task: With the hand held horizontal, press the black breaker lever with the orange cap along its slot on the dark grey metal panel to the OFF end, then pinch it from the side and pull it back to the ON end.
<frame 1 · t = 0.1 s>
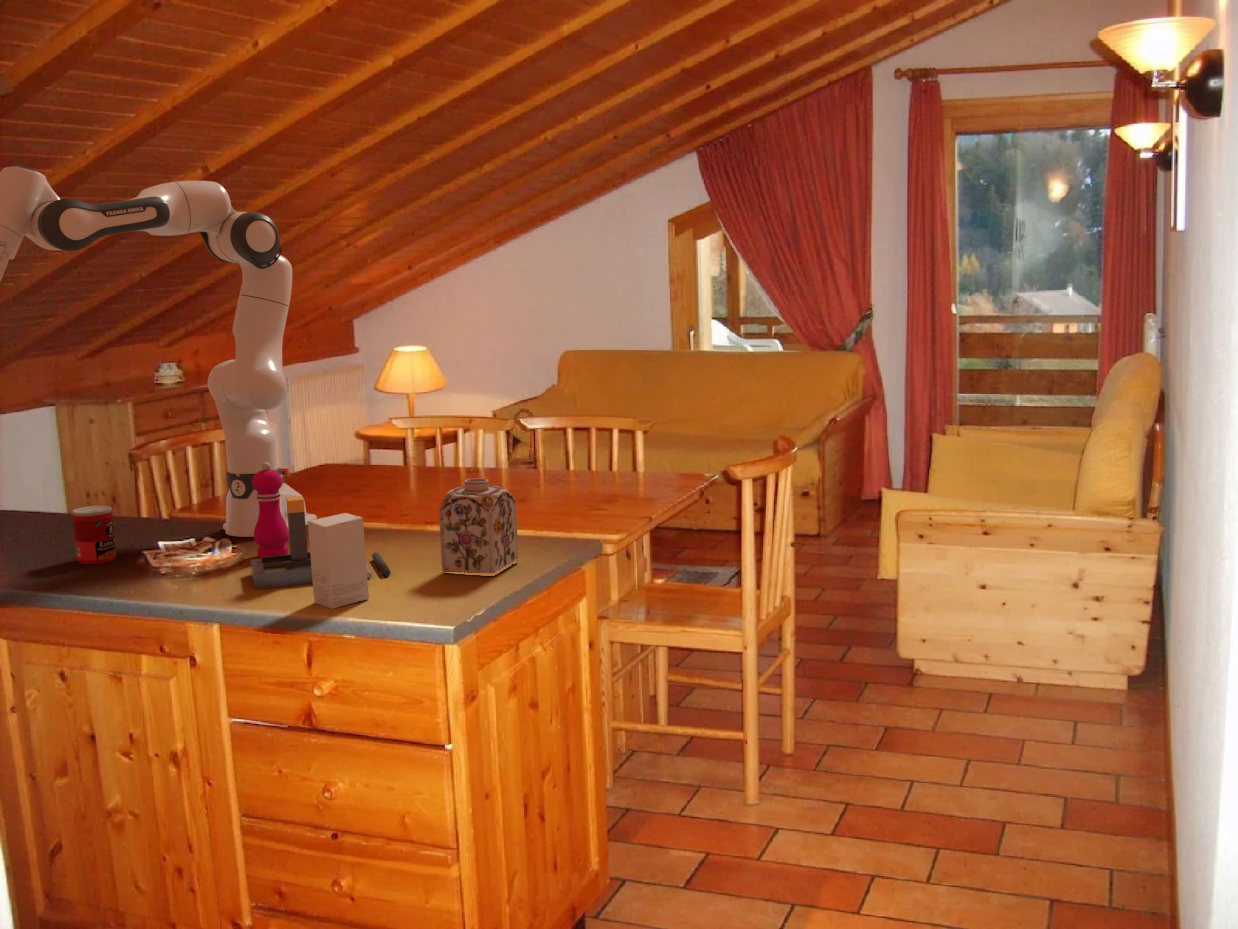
canned food: (97, 561, 266), on the counter
lever: (297, 529, 246), point 9 cm above the counter, slide at 0.0 cm
pepper mill: (273, 556, 266), on the counter
skincare box: (341, 603, 230), on the counter
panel: (300, 576, 248), on the counter
dark grey capsule: (372, 568, 252), on the counter
decorative jar: (481, 569, 250), on the counter
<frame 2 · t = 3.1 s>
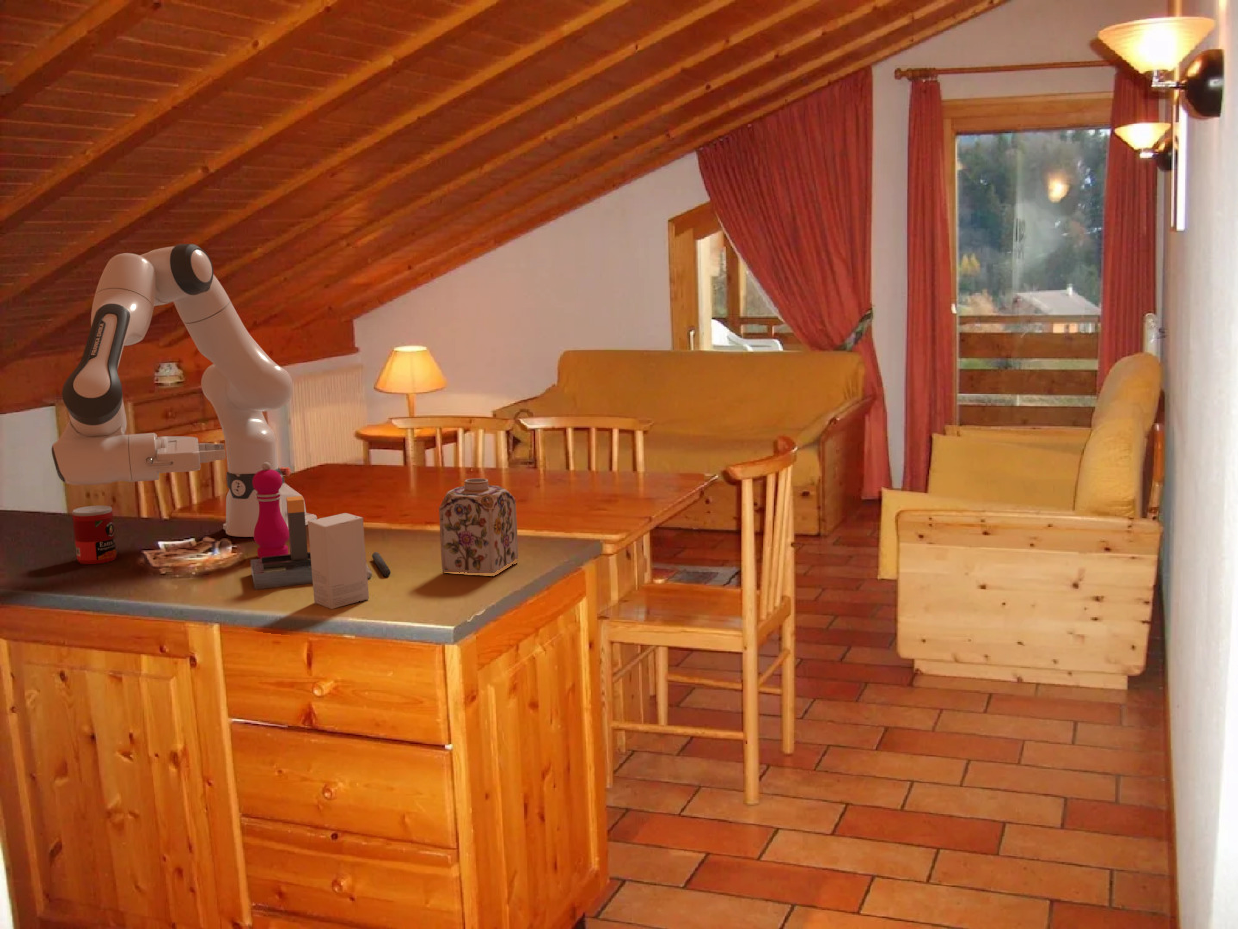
hand: (224, 451, 239), 26 cm above the counter, tool horizontal, fingers open, 6 cm apart
nothing on the counter moved.
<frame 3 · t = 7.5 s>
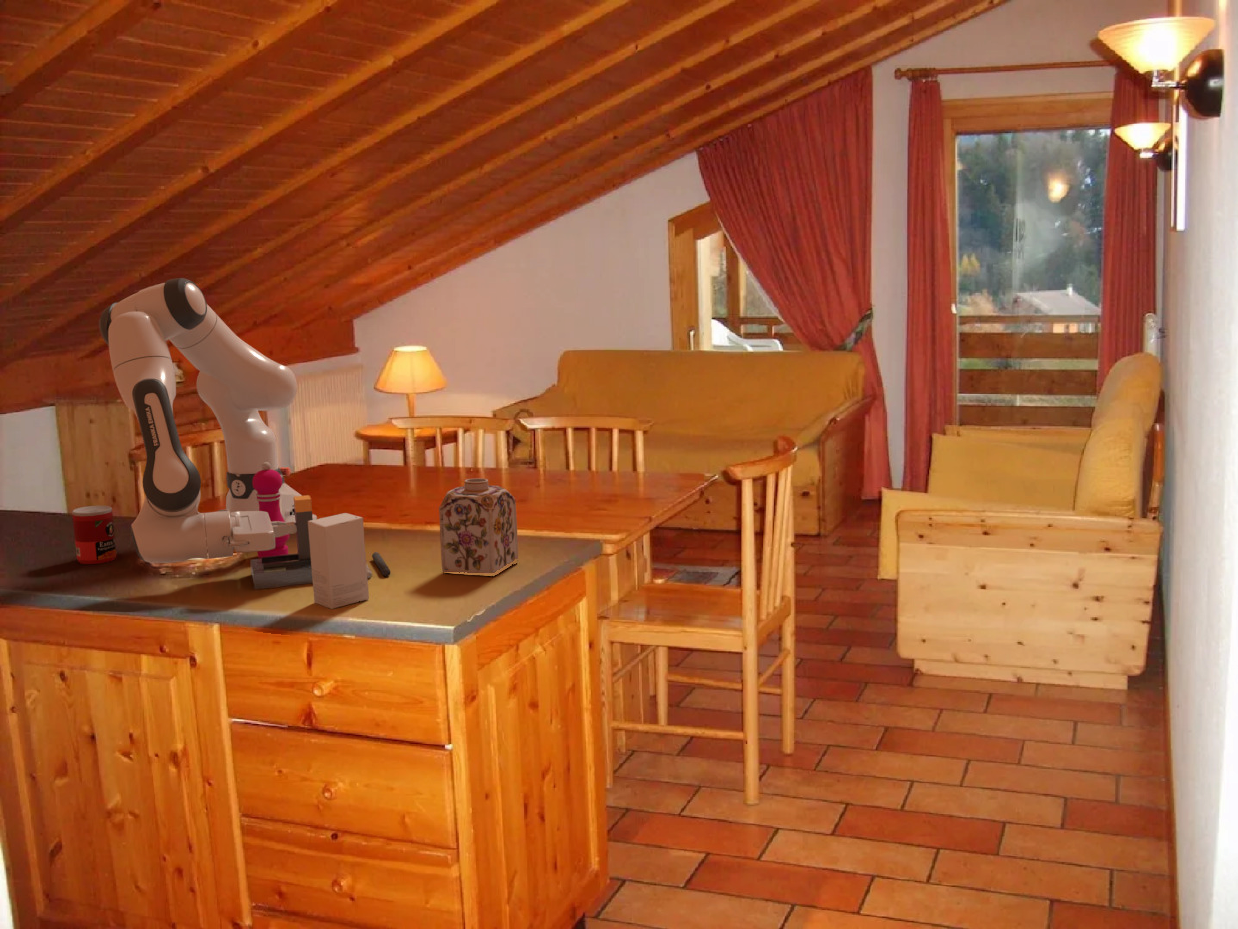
hand: (296, 527, 246), 10 cm above the counter, tool horizontal, fingers closed, pressing on lever
lever: (304, 528, 247), point 9 cm above the counter, slide at 1.4 cm, touching gripper
everything else where it was.
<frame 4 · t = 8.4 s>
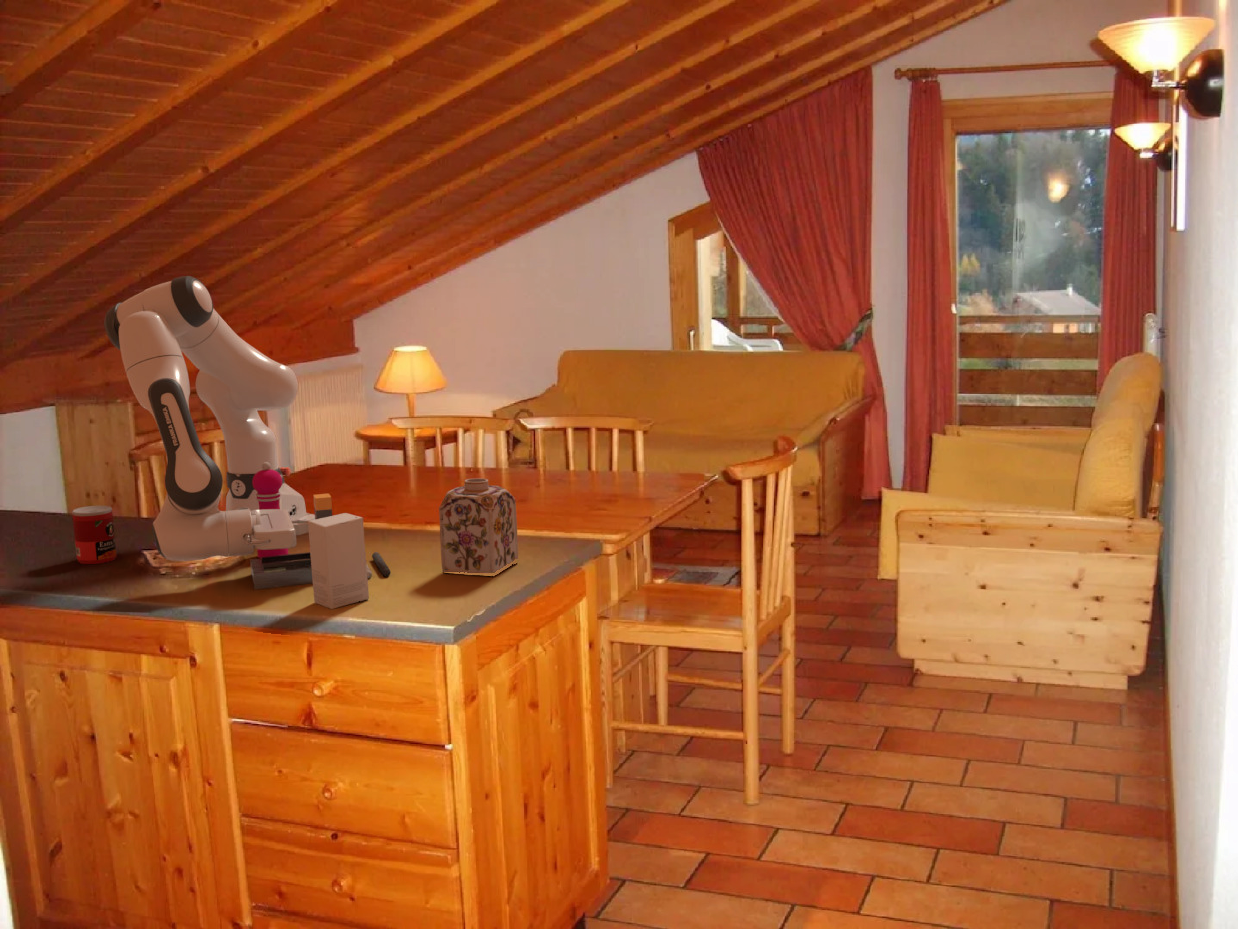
hand: (316, 525, 247), 10 cm above the counter, tool horizontal, fingers closed, pressing on lever
lever: (324, 526, 248), point 10 cm above the counter, slide at 5.2 cm, touching gripper
everything else where it was.
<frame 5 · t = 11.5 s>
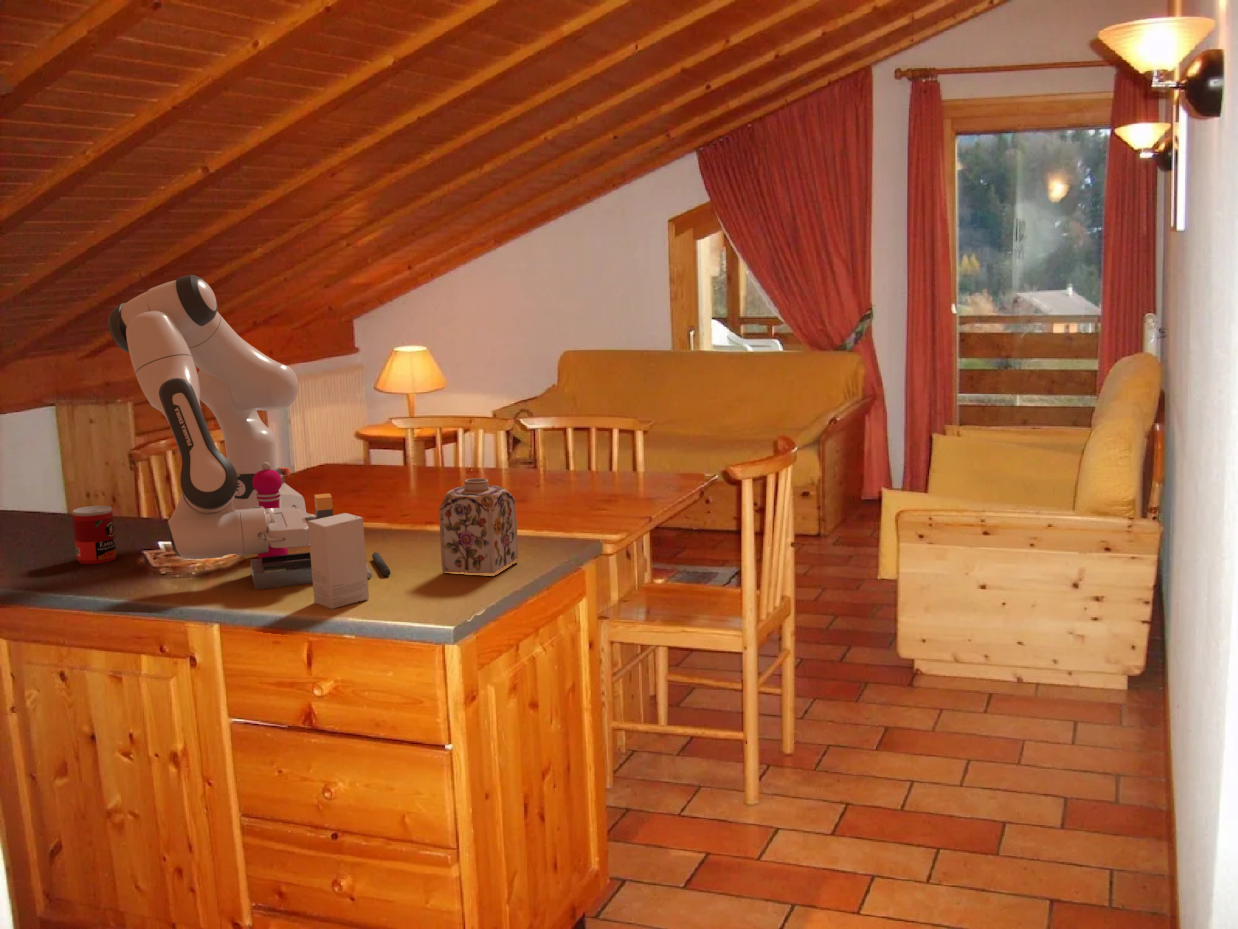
hand: (330, 523, 248), 10 cm above the counter, tool horizontal, fingers closed on lever, 4 cm apart
lever: (325, 526, 248), point 9 cm above the counter, slide at 5.4 cm, touching gripper
everything else where it was.
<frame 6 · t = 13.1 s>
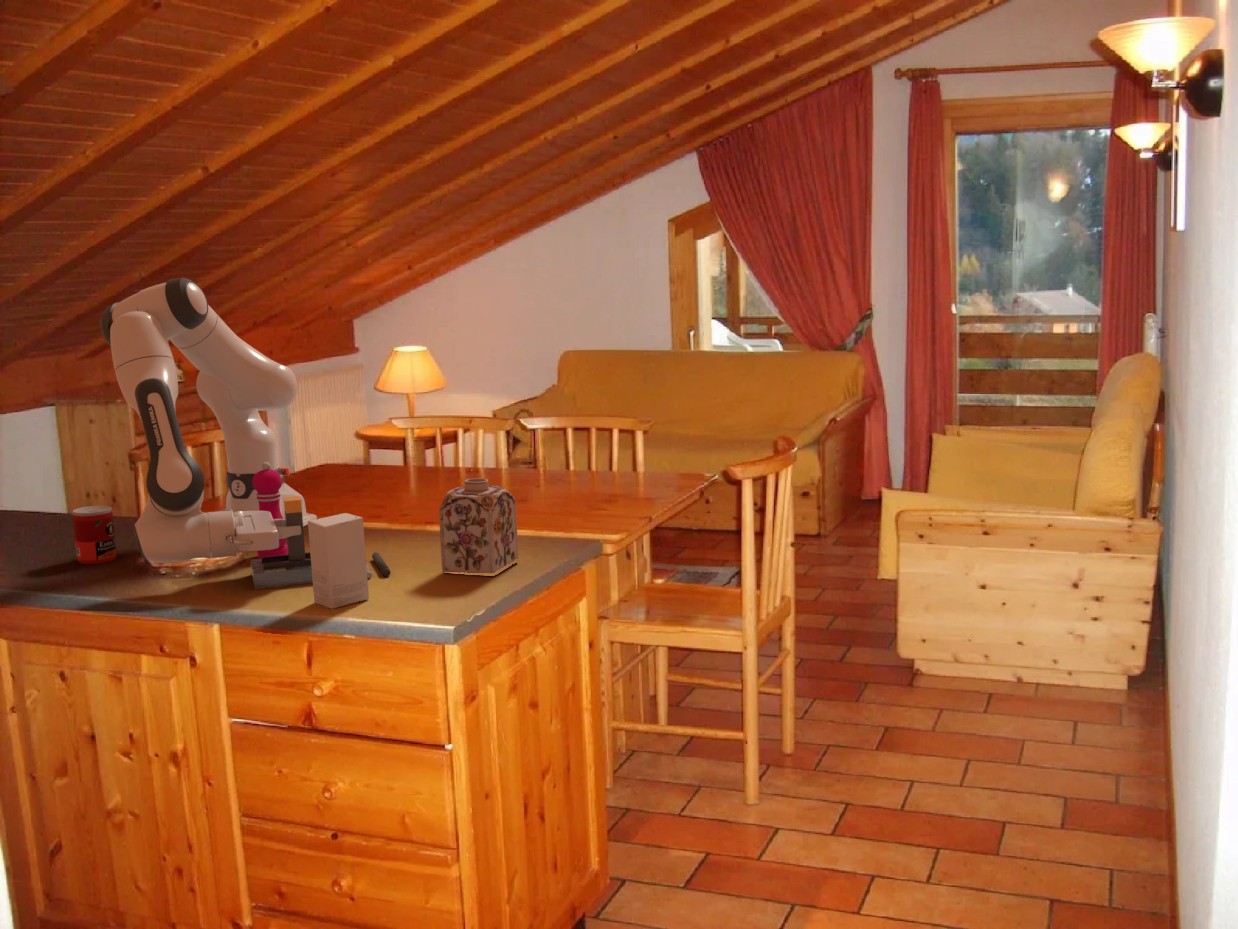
hand: (299, 526, 246), 10 cm above the counter, tool horizontal, fingers closed on lever, 4 cm apart
lever: (294, 529, 246), point 9 cm above the counter, slide at -0.5 cm, touching gripper
everything else where it was.
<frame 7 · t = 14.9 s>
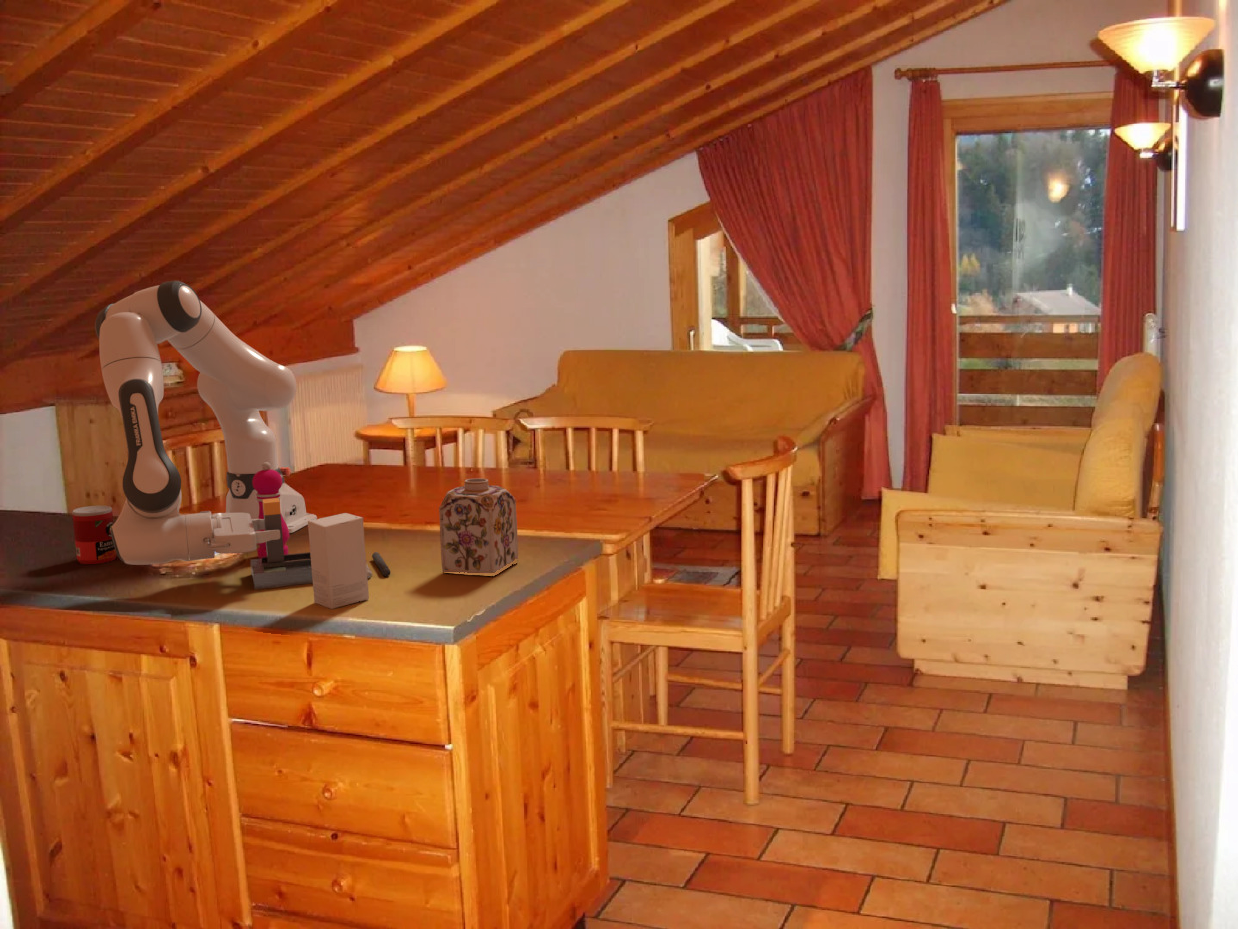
hand: (278, 528, 245), 10 cm above the counter, tool horizontal, fingers open, 8 cm apart
lever: (273, 531, 245), point 9 cm above the counter, slide at -4.5 cm
everything else where it was.
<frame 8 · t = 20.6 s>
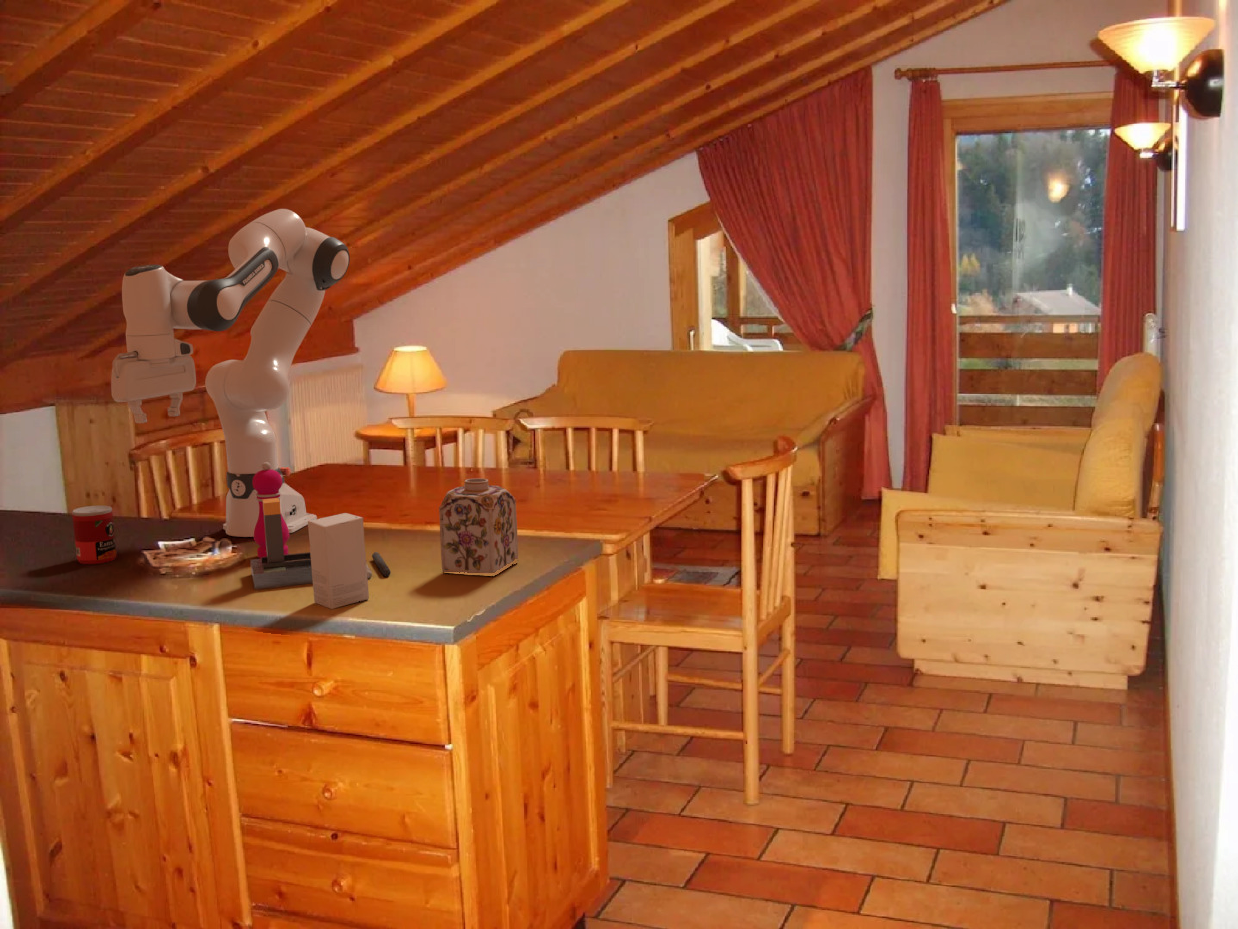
hand: (157, 419, 249), 31 cm above the counter, tool pointing down, fingers open, 8 cm apart
nothing on the counter moved.
at the end: lever slide at -4.5 cm; the gripper is holding nothing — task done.
